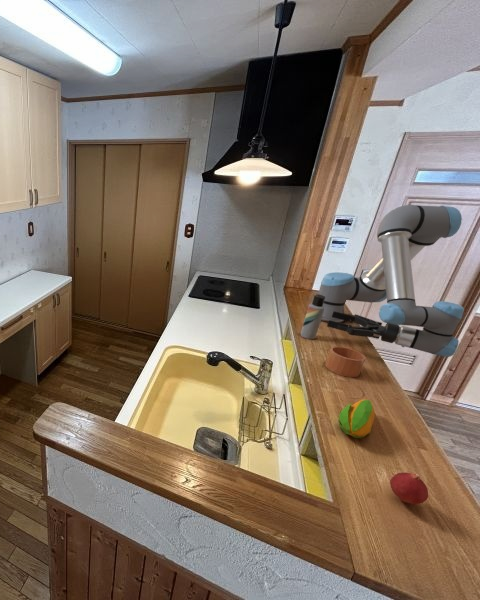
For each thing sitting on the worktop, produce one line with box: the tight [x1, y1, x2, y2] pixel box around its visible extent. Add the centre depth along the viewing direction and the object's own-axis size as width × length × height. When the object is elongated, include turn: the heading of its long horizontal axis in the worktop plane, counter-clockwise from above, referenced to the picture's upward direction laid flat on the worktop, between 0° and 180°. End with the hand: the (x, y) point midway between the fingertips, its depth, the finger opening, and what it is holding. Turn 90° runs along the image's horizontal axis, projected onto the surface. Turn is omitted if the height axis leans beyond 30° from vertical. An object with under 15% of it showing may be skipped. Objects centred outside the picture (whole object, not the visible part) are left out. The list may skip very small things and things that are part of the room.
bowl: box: [324, 345, 366, 378], centre depth 120 cm, size 10×10×7 cm
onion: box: [389, 472, 429, 505], centre depth 70 cm, size 6×6×8 cm
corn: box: [338, 398, 376, 439], centre depth 93 cm, size 7×8×20 cm
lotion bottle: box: [300, 293, 325, 340], centre depth 143 cm, size 6×6×20 cm
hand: (330, 318), depth 139 cm, fingers open, 13 cm apart
